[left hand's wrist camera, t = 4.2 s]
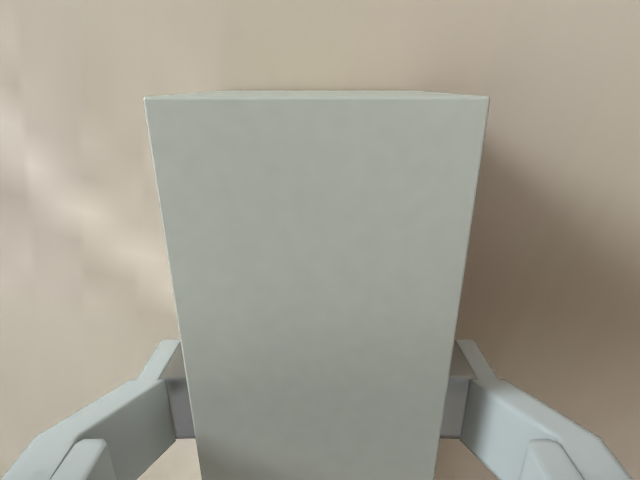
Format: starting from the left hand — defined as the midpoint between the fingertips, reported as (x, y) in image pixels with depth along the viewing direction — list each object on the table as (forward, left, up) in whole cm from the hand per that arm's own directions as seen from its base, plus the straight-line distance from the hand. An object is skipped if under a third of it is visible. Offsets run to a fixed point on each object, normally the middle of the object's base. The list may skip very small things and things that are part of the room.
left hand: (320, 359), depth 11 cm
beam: (+3, -27, -3) cm, 27 cm away
